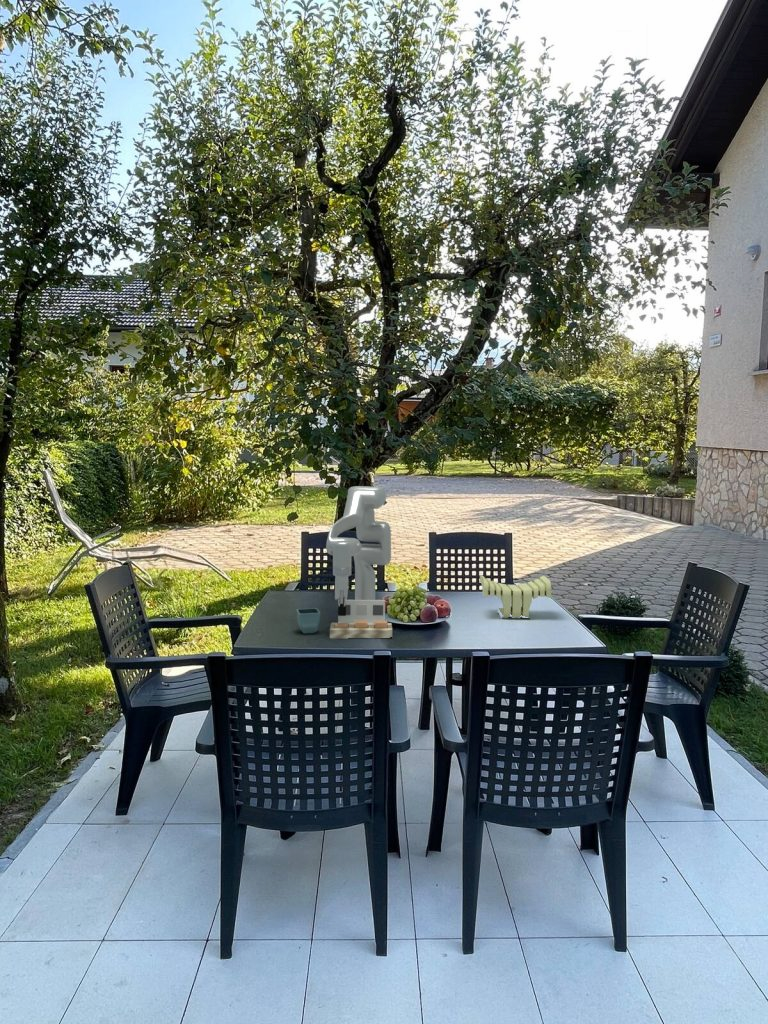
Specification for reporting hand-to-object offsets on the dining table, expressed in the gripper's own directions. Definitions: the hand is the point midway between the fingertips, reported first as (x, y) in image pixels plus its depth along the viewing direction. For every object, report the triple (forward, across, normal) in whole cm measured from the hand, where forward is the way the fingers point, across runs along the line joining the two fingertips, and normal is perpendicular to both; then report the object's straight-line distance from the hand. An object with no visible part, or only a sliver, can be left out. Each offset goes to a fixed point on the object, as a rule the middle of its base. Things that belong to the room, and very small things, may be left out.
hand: (342, 615), depth 295 cm
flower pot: (+8, -3, -14) cm, 16 cm away
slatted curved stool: (+10, -35, +78) cm, 86 cm away
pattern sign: (+8, -14, +8) cm, 18 cm away
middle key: (+6, +1, +8) cm, 10 cm away
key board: (+8, +1, +8) cm, 11 cm away
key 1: (+7, +1, 0) cm, 7 cm away
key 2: (+6, +1, +16) cm, 17 cm away
